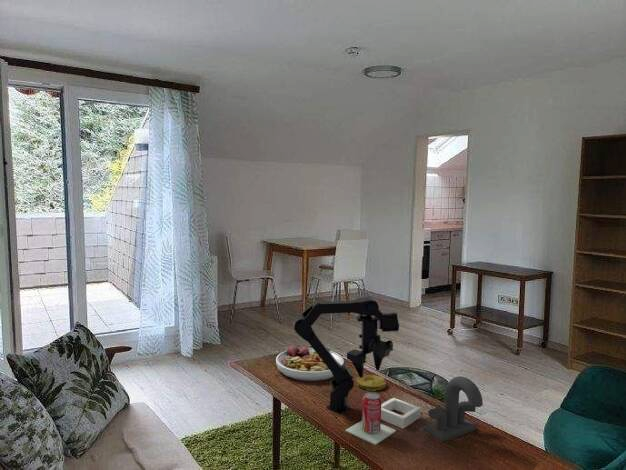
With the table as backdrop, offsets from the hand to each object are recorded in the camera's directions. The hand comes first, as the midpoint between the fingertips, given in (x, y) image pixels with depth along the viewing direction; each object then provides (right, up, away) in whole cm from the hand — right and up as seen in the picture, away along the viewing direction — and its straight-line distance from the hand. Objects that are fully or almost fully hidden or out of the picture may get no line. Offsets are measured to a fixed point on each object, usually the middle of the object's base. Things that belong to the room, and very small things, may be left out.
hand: (369, 373), depth 172 cm
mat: (-1, -15, -15) cm, 21 cm away
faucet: (+28, -16, -16) cm, 36 cm away
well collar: (+9, -14, -5) cm, 18 cm away
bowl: (-22, -10, +37) cm, 44 cm away
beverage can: (-1, -14, -15) cm, 21 cm away
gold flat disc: (+3, -12, +22) cm, 25 cm away
